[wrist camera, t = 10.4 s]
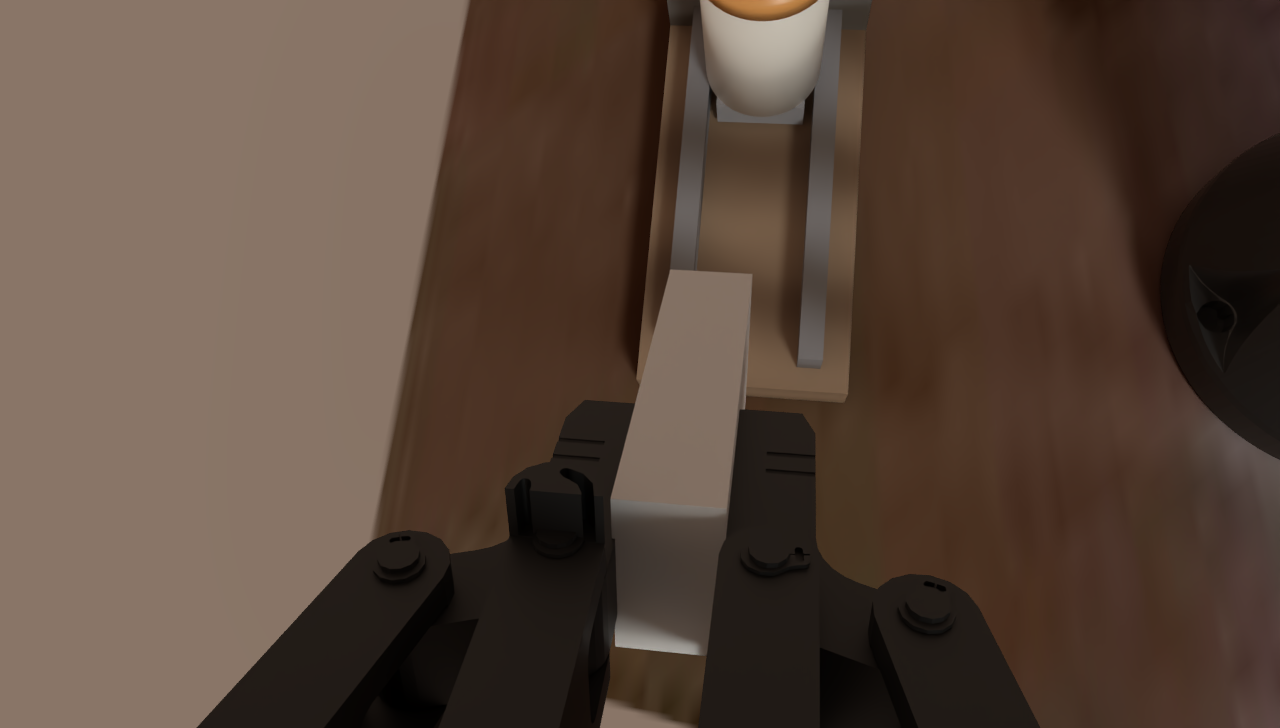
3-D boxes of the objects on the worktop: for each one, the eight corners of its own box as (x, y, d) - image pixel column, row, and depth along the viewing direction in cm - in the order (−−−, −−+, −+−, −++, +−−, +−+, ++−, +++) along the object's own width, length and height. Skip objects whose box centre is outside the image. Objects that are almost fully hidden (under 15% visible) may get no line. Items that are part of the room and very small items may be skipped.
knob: (819, 139, 45) (838, 7, 35) (698, 135, 46) (683, 3, 36) (826, 30, 46) (846, -129, 36) (708, 27, 47) (695, -130, 37)
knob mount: (843, 402, 44) (855, 376, 39) (641, 388, 46) (626, 361, 40) (864, -4, 49) (877, -76, 44) (678, -8, 50) (670, -79, 45)
